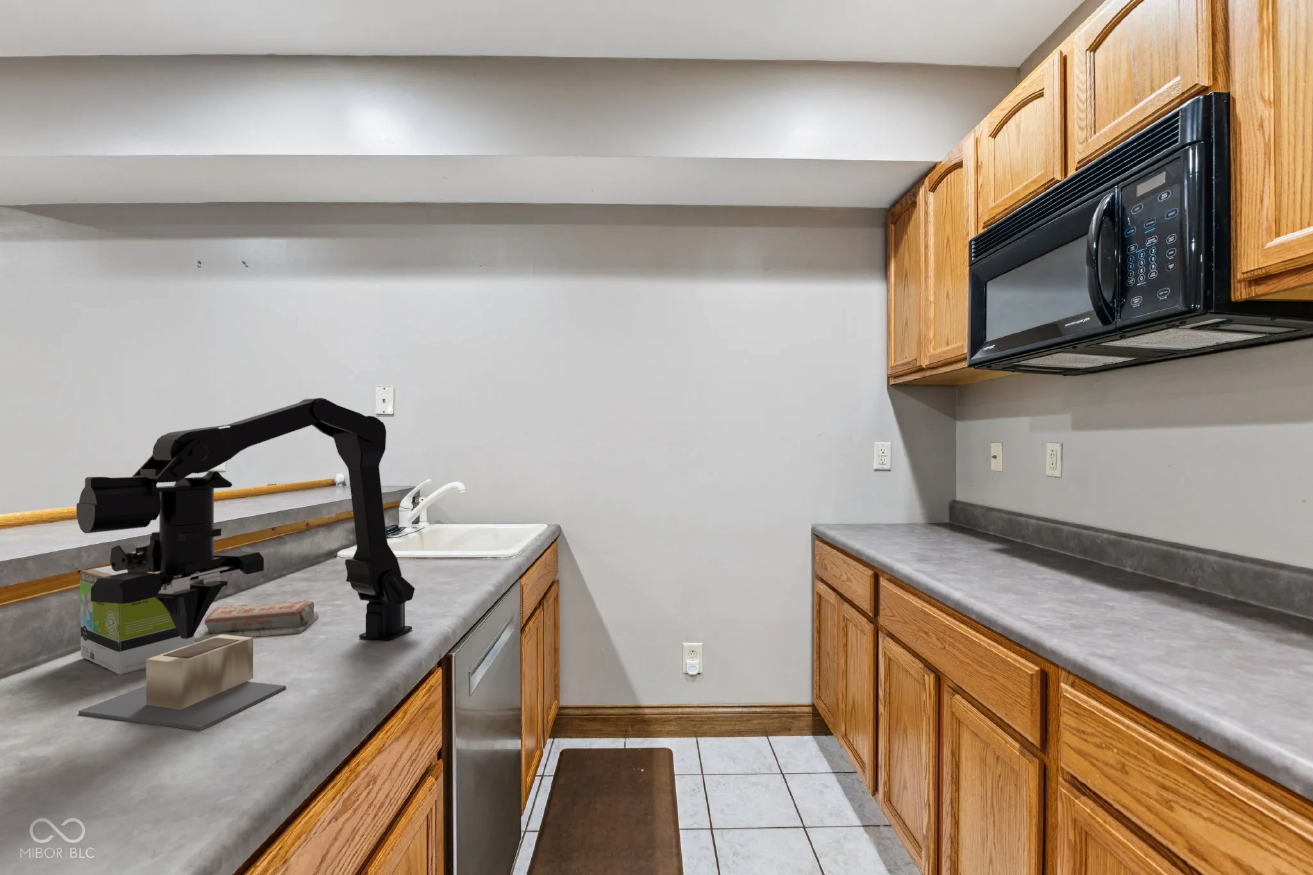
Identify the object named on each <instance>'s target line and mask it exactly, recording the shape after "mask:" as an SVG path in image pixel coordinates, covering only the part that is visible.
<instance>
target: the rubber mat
mask: <svg viewBox="0 0 1313 875" xmlns="http://www.w3.org/2000/svg"><path fill="white" fill-rule="evenodd" d="M286 689H287V685H283V684H282V685H281V684H273V683H263V682H256V681H255V682H254V681H246V682H244V683H242V684H239V685H237V686H235V687H232V688H230V689H228V690H225V691H223V692H221V693H218V694H216V695H214V696H211V697H209V698H207V699H204V700H202V701H200V702H197V703H195V704H193V705H190V706H188V707H186V708H183V709H181V710H179V709H172V708H165V707H158V706H151V705H146V685H143V686H141V687H138V688H135V689H133V690H130V691H128V692H125V693H122V694H119V695H117V696H114V697H112V698H109V699H107V700H104V701H102V702H99V703H96V704H94V705H90V706H88V707H86V708H82V709H80V710H78V715H84V716H89V717H98V718H106V719H112V720H113V719H114V720H119V721H127V722H135V723H142V724H150V725H157V726H164V727H171V728H172V727H173V728H179V729H187V730H194V731H203V730H204V729H206V728H208V727H211V726H213V725H215V724H217V723H219V722H221V721H223V720H225V719H227V718H230V717H231V716H233V715H236V714H237V713H239V712H241V711H243V710H245V709H247V708H249V707H252V706H254V705H255V704H257V703H260V702H262V701H264V700H266V699H268V698H270V697H272V696H274V695H276V694H279V693H280V692H282V691H284V690H286Z"/></svg>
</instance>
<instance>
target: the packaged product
mask: <svg viewBox="0 0 1313 875" xmlns="http://www.w3.org/2000/svg"><path fill="white" fill-rule="evenodd" d="M314 610H315V602H314V601H313V600H307V601H306V600H303V601H287V602H285V601H284V602H267V603H254V604H253V603H252V604H249V603H248V604H234V605H233V604H231V605H222V606H216V607H215V608H213V609H212V611H211V612H210V614H208V615H206V618H205V620H204V625H205V627H203V628H201V629H200V630H198V631H196V632H195V634H194V643H197V642H200V641H203V640H206V639H209V638H212V637H215V636H218V635H221V634H222V635H233V636H243V637H253V638H257V637H256V636H261V637H269V636H270V635H272V636H283V635H295V633H297V634H301V633H303V632H304V631H305V630H306V629H307V628H308V626H309V627H310V626H311V625H312V624H313V623H315V622H316V621H317V620H318V619H319V617H320V616H319V614H318V612H315V611H314ZM315 620H316V621H315ZM310 624H311V625H310ZM302 631H303V632H302ZM293 633H294V634H293Z"/></svg>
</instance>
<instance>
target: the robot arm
mask: <svg viewBox="0 0 1313 875" xmlns="http://www.w3.org/2000/svg"><path fill="white" fill-rule="evenodd" d="M310 426H313V427H314V428H315V429H316V430H318V431H319V432H320V433H322V434H323V435H326V436H328V437H329V438H332V439H333V441H334V443H335V447H336V450H337V454H338V455H339V457H340V458H341V460H342V461H343V463H344V464H345V466H346V468H347V470H348V479H349V487H350V496H351V505H352V513H353V515H352V516H353V522H354V523H353V524H354V531H355V539H356V549H355V552H354V554H353V557H352V558H346V559H345V561H344V565H345V568H346V580H345V582H347V583H350V587H351V588H352V590H354V591H356V593H357V595H358V598H359V600H360V601H367V602H368V603H366V613H365V632H363V633H360V634H359V635H358V638H359V639H368V640H369V639H370V640H379V641H381V640H382V641H390V640H394V639H395V638H397V637H399V636H401V635H403V634H405V633H407V632H409V631H411V630H413V626H412V625H406V603H407V602H410V601H412V600H413V597H414V593H415V590H416V588H415V587H414V586H413V585H412V584H411V583H410V582H409V581H408V580H407V579H406V578H404V577H403V576H402V575H403V574H402V571H401V567H400V563H399V560H398V558H397V556H396V554H395V552H393V550H392V548H391V546H389V543H388V538H387V535H388V534H387V527H386V519H385V511H384V501H383V491H382V490H383V489H382V481H381V473H380V472H381V471H380V463H381V461H382V459H383V457H384V454H385V451H386V447H387V446H386V445H387V428H386V425H385V424H384V422H383V421H381V419H379V417H376V416H373V415H364V414H363V413H361V412H358V411H356V410H352V409H349V408H347V407H343V406H341V405H339V404H336V403H335V402H332V401H330V400H329V399H327V398H324V397H316V398H315V397H313V398H304V399H302V400H300V402H297V403H294V404H291V405H288V406H287V405H286V406H283V407H280V408H277V409H274V410H270V411H268V412H263V413H261V414H257V415H254V416H251V417H247V418H245V419H241V420H238V421H235V422H231V423H228V424H222V425H217V426H207V427H198V428H192V429H186V430H185V429H184V430H178V431H171V432H168V433H165V434H164V435H161V436H159V438H157V440H156V442H155V444H154V445H153V448H152V455H151V456H150V457H149V458H148V459H147V460H146V461H145V462H144V463H143V464H142V465H141V466H140V468H139V469H138V470H137V471H136V472H135V473H134V474H133V475H131V476H123V477H120V476H119V477H108V476H87V477H86V478H84V487H83V489H82V490H81V493H80V496H79V501H78V502H77V503H76V506H75V507H76V519H77V523H78V526H79V528H80V531H81V532H82V533H84V534H93V533H103V532H111V531H122V530H133V529H140V528H143V529H144V528H147V527H148V526H149V525H150V524H151V522H152V521H156V520H157V519H159V522H158V523H159V529H158V531H153V532H151V535H149V536H150V537H149V544H147V545H144V546H139V547H137V545H136V544H135V543H133V542H130V543H125V544H120V545H116V546H113V547H111V548H110V556H109V562H110V566H111V567H112V569H113V570H114V571H115V572H117V571H122V570H127V571H128V572H126V573H121V574H116V575H111V576H106V577H101V578H98V579H97V581H96V582H95V583H94V584H93V586H92V587H91V602H104V603H118V604H125V603H133V602H137V601H141V600H145V599H149V598H153V597H155V598H156V599H158V600H159V601H160V602H161V603H162V604H163V605H164V607H165V608H166V610H167V611H168V613H169V615H170V617H171V619H172V621H173V623H174V625H175V627H176V629H177V631H178V633H179V635H180V637H181V638H182V639H188V638H191V637H193V636H194V634H195V633H197V630H198V628H199V626H200V625H201V622H202V621H203V620H204V617H205V616H206V614H207V612H208V610H209V608H210V607H211V606H212V603H214V601H215V599H216V598H217V597H218V594H219V593H220V592H221V591H222V589H223V588H224V587H225V586H226V587H227V586H228V585H229V581H228V580H221V576H220V574H225V573H230V572H232V571H237V570H238V571H240V572H241V573H243V574H244V575H250V574H254V573H255V574H256V573H259V572H262V571H265V558H264V557H263V556H262V554H261V553H260V552H259V551H243V550H242V551H241V550H235V551H230V552H229V551H228V552H224V553H218V554H215V550H214V548H215V547H214V546H215V545H214V542H215V537H221V536H222V528H218V527H217V528H216V527H215V526H214V524H215V523H214V522H215V521H214V520H215V510H214V509H215V501H214V500H215V489H227V488H231V487H232V486H233V483H232V482H231V481H230V480H228V479H226V478H225V477H223V476H222V474H221V473H220V472H219V471H215V470H214V471H212V470H213V469H214V468H217V467H219V466H220V465H222V464H224V463H226V462H228V461H229V460H231V459H233V458H234V457H235V456H236V455H238V454H239V453H241V452H242V451H244V450H246V449H247V448H250V447H252V446H256V445H259V444H261V443H264V442H267V441H271V440H273V439H276V438H278V437H281V436H284V435H287V434H290V433H293V432H295V431H298V430H302V429H305V428H308V427H310ZM201 473H206V474H205V475H203V476H195V477H188V476H190V475H192V474H201ZM158 483H159V484H160V483H161V484H163V483H174V484H173V485H164V486H163V485H162V486H157V485H158ZM158 517H159V518H158ZM148 572H153V573H148ZM155 572H159V573H157V574H156V573H155ZM179 575H181V576H179ZM176 576H179V577H176ZM174 577H175V578H174Z"/></svg>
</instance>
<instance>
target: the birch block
mask: <svg viewBox="0 0 1313 875" xmlns="http://www.w3.org/2000/svg"><path fill="white" fill-rule="evenodd" d="M145 677H146V678H145V681H146V682H145V686H146V705H151V706H158V707H165V708H172V709H179V710H181V709H183V708H186V707H188V706H190V705H193V704H195V703H197V702H200V701H202V700H204V699H207V698H209V697H211V696H214V695H216V694H218V693H221V692H223V691H225V690H228V689H230V688H232V687H235V686H237V685H239V684H242V683H244V682H246V681H247V682H249V681H250V680H253V679H254V637H243V636H233V635H222V634H221V635H218V636H215V637H212V638H209V639H206V640H203V641H196V642H194V644H191V645H188V646H185V647H182V648H179V649H176V650H173V651H170V652H167V653H164V654H161V655H158V656H155V657H152V658H149V659H146V668H145Z"/></svg>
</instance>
